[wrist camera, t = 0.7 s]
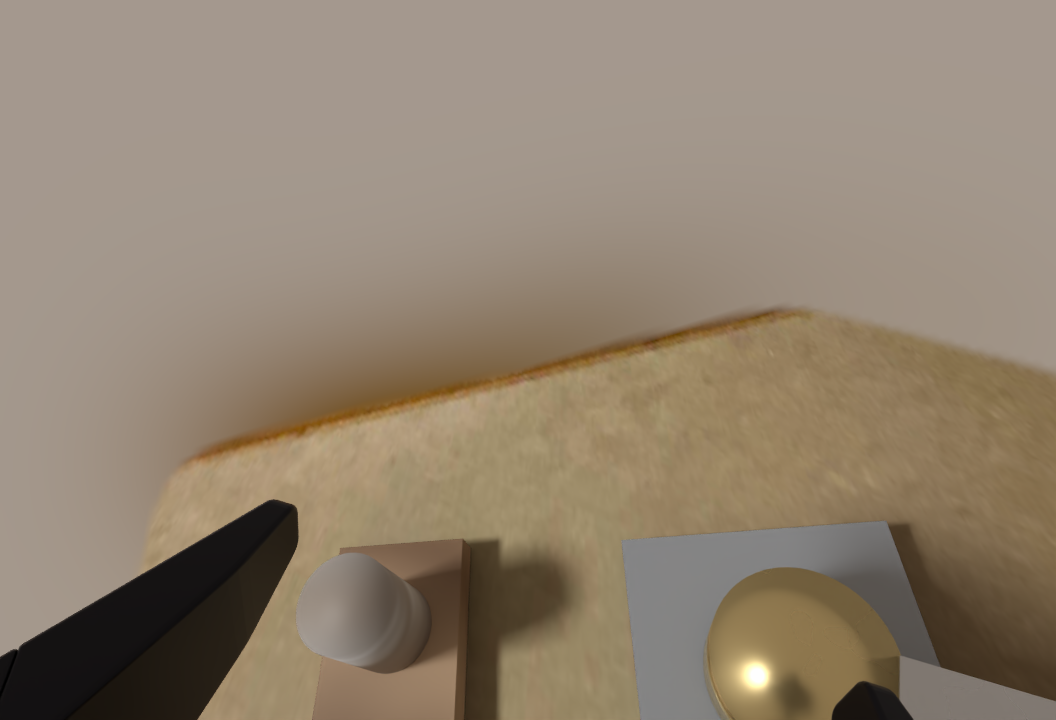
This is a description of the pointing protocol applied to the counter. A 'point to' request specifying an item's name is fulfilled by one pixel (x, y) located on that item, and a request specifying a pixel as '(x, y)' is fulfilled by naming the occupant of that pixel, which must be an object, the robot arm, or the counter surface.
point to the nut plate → (716, 567)
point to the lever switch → (830, 658)
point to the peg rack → (389, 631)
